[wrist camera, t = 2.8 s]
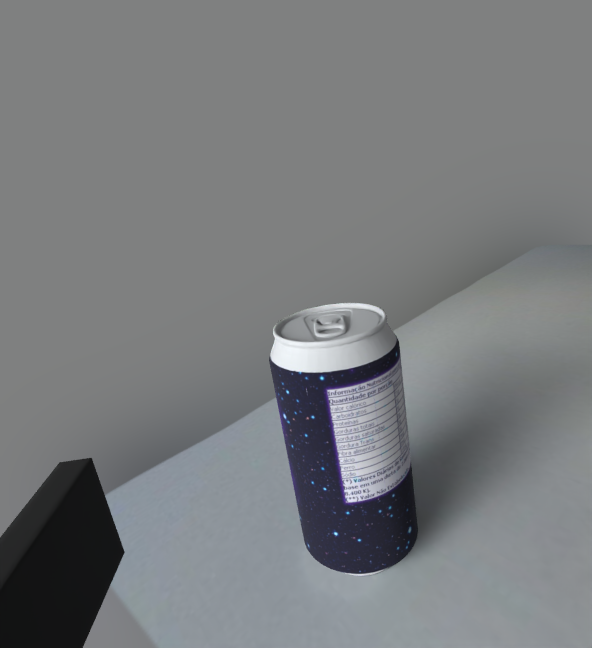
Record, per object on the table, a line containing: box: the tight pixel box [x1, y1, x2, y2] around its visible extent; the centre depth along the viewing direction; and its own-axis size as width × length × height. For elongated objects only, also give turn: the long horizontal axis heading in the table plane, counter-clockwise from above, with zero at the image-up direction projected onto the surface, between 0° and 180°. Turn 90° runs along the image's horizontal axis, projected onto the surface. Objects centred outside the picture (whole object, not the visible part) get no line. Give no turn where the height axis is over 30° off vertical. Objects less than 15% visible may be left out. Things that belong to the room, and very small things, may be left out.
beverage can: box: [269, 303, 418, 576], centre depth 22 cm, size 6×6×12 cm
